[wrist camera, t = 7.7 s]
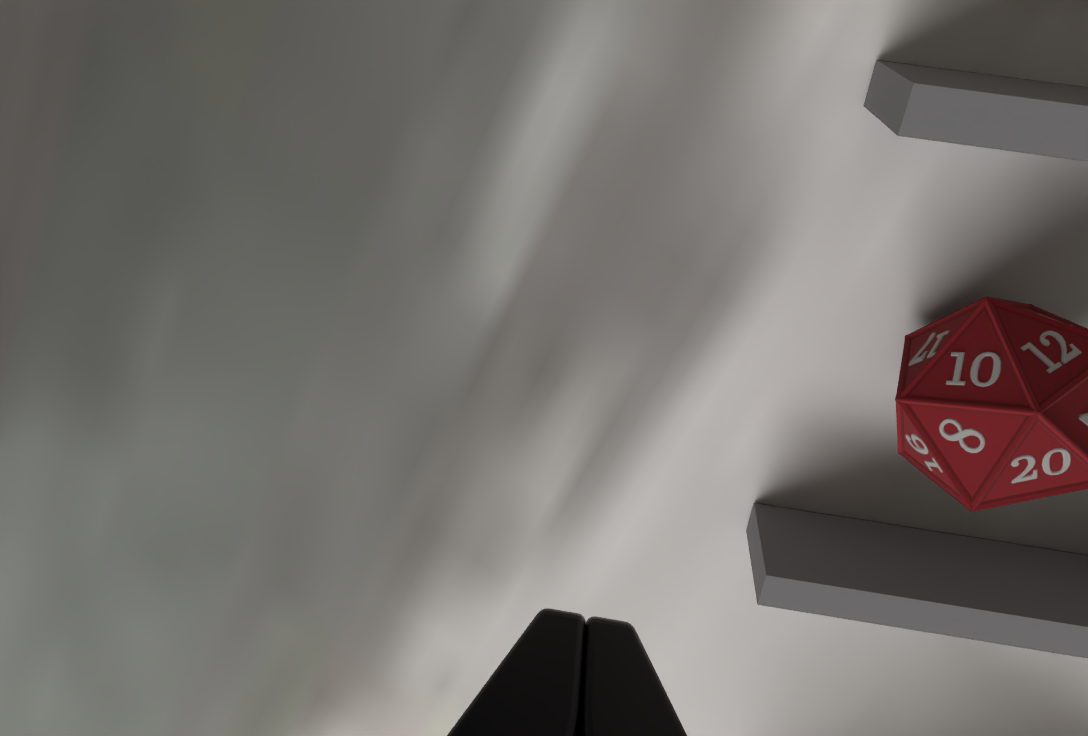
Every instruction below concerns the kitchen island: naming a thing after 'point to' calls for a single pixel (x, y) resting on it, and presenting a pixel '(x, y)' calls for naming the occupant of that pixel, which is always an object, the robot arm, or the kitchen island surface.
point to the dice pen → (914, 554)
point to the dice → (996, 403)
